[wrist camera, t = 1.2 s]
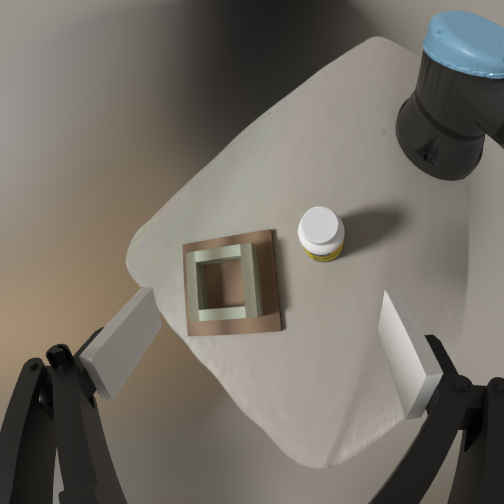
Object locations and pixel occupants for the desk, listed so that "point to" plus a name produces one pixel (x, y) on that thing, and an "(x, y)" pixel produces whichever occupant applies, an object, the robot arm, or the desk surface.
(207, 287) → the socket board
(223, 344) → the desk surface
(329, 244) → the supplement bottle
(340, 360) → the desk surface
